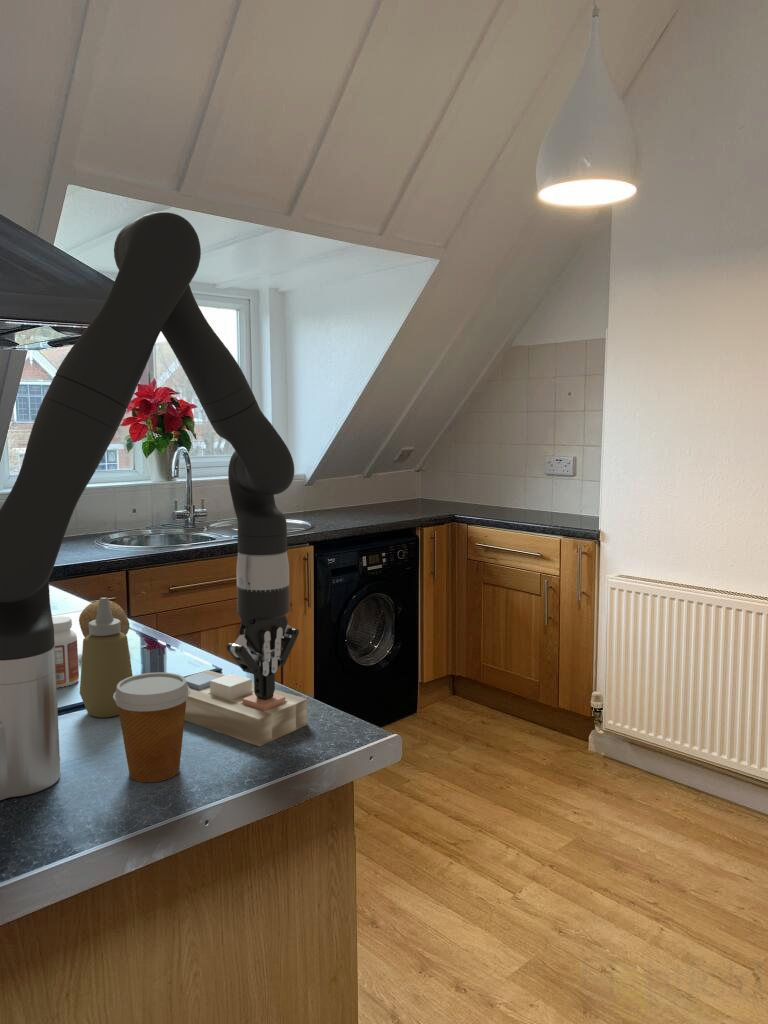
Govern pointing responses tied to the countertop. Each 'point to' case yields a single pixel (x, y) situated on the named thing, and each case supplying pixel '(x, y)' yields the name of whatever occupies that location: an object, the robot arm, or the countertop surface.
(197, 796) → the countertop surface
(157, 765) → the disposable coffee cup
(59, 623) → the pill bottle
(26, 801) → the countertop surface
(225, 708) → the key box
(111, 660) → the squeeze bottle
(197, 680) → the slate key
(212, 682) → the white key
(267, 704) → the terracotta key
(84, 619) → the natural sponge
